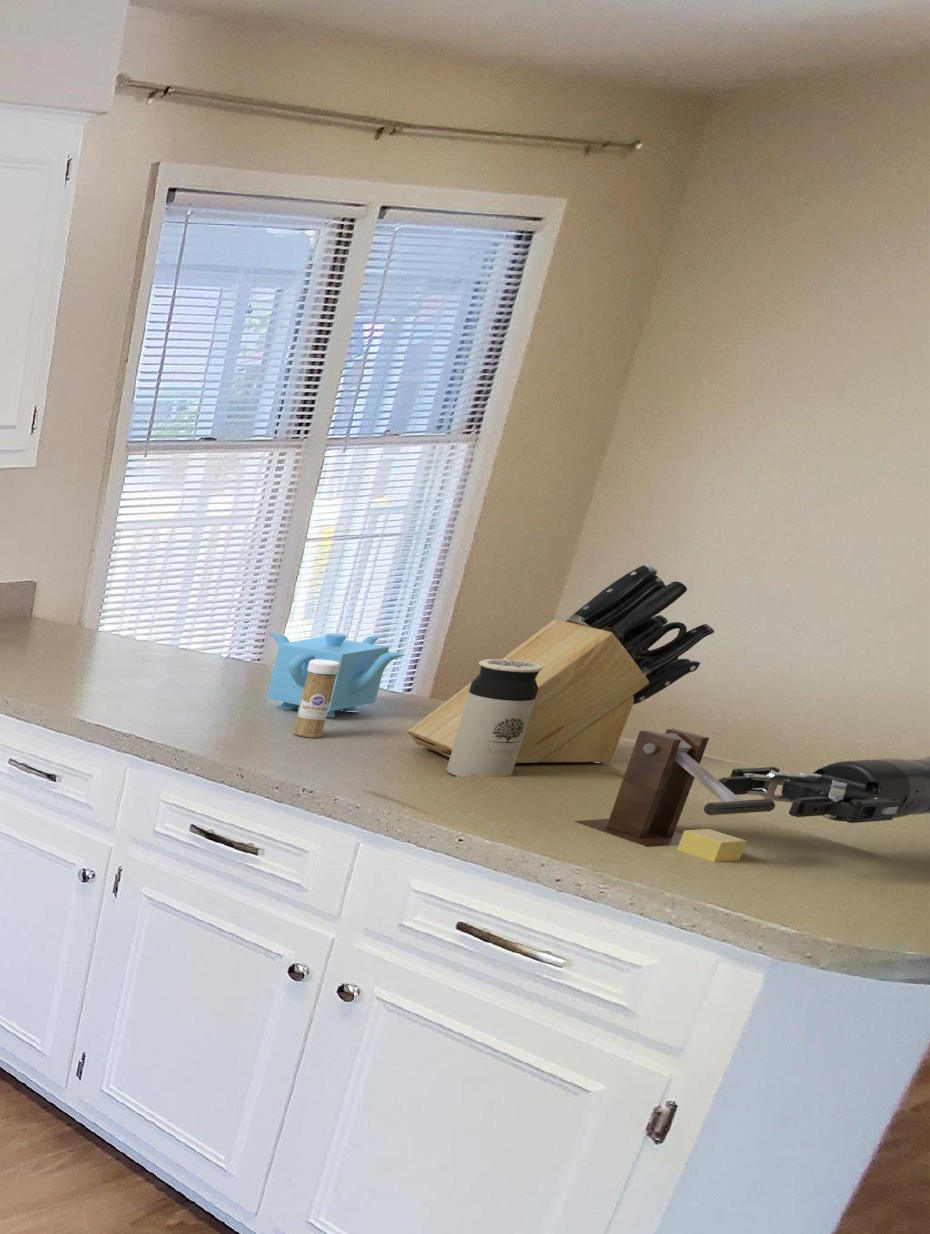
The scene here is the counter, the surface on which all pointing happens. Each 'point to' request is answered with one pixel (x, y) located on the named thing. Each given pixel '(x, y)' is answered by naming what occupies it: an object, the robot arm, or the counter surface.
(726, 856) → the butter
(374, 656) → the teakettle
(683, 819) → the counter surface
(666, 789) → the stand
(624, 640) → the knife block
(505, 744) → the travel mug
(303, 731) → the sprinkles bottle
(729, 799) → the lever
